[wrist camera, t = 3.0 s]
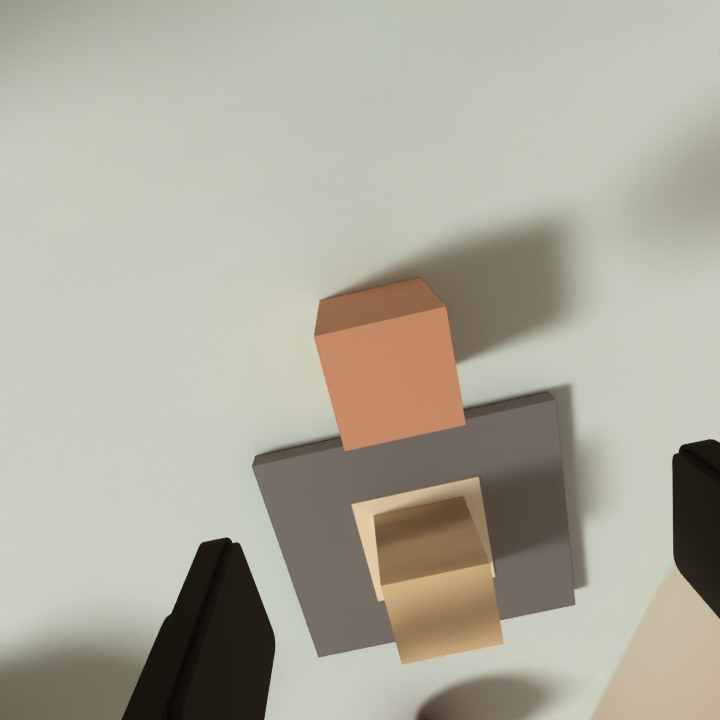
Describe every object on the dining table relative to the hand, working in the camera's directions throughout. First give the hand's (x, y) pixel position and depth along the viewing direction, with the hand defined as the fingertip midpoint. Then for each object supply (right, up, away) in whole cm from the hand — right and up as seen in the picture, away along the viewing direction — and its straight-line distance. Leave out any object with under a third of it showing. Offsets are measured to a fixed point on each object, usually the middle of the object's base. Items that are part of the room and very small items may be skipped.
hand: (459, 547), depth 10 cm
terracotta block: (-1, +5, +14) cm, 15 cm away
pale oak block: (+2, -6, +17) cm, 18 cm away
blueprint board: (+2, -6, +18) cm, 19 cm away
